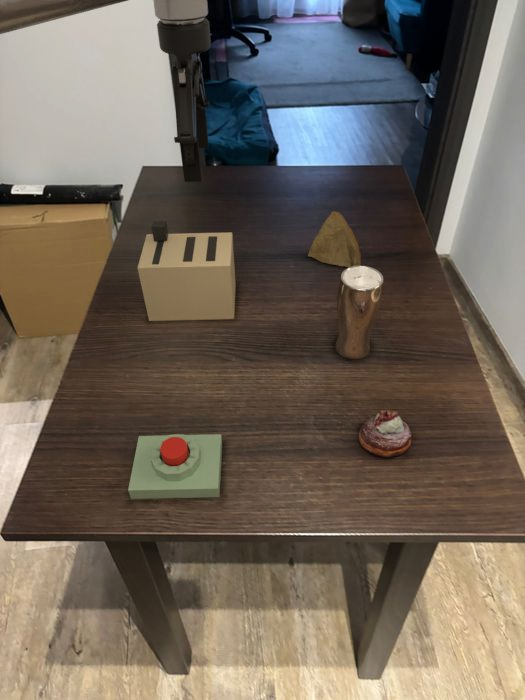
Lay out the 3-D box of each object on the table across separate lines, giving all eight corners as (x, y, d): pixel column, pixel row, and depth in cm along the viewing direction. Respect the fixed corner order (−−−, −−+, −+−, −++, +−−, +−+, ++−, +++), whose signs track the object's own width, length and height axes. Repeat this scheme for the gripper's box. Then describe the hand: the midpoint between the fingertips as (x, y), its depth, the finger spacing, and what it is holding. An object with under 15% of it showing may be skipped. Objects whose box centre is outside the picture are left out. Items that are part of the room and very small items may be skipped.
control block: (131, 499, 71) (125, 482, 69) (141, 445, 78) (136, 428, 75) (219, 497, 71) (217, 480, 68) (222, 443, 78) (220, 426, 75)
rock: (376, 255, 109) (351, 228, 114) (361, 235, 102) (335, 206, 108) (336, 290, 111) (313, 261, 117) (318, 272, 104) (295, 242, 110)
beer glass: (329, 358, 90) (336, 287, 80) (335, 331, 95) (342, 262, 85) (370, 364, 89) (383, 293, 79) (374, 337, 94) (386, 267, 84)
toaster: (148, 321, 99) (137, 267, 90) (156, 286, 107) (146, 233, 98) (234, 319, 98) (230, 265, 90) (235, 284, 107) (232, 231, 98)
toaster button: (153, 241, 96) (151, 227, 94) (155, 235, 97) (152, 221, 95) (167, 241, 96) (164, 226, 94) (168, 235, 97) (166, 221, 95)
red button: (160, 466, 71) (158, 458, 70) (163, 444, 73) (161, 436, 72) (187, 465, 71) (185, 458, 70) (189, 444, 73) (188, 436, 72)
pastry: (393, 413, 81) (399, 391, 78) (422, 450, 76) (429, 428, 73) (348, 429, 79) (351, 407, 76) (374, 468, 74) (379, 447, 71)
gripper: (200, 40, 66) (214, 197, 81) (214, 1, 84) (223, 134, 99) (141, 41, 66) (165, 197, 81) (168, 1, 84) (183, 135, 99)
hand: (197, 163), depth 90 cm, fingers open, 13 cm apart
